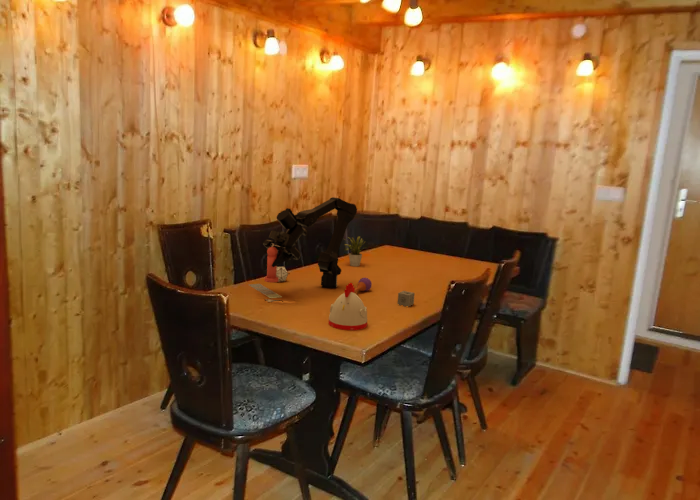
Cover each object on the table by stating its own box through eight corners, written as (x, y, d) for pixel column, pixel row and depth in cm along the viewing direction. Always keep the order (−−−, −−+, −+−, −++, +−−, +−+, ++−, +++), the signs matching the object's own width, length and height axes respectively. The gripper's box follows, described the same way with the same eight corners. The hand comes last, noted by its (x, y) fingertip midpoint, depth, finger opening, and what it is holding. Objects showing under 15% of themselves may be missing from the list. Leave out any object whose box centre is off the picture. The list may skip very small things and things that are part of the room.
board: (243, 286, 247) (243, 283, 247) (261, 284, 251) (261, 282, 251) (268, 301, 225) (268, 299, 224) (288, 299, 229) (288, 297, 229)
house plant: (343, 261, 313) (345, 232, 310) (368, 263, 311) (370, 234, 308) (339, 266, 299) (341, 235, 296) (365, 268, 297) (367, 237, 294)
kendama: (340, 288, 237) (360, 276, 255) (342, 302, 238) (362, 289, 256) (352, 288, 234) (372, 276, 252) (355, 302, 235) (374, 289, 253)
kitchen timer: (322, 326, 199) (324, 284, 196) (337, 316, 211) (339, 277, 209) (359, 332, 194) (362, 290, 191) (372, 322, 207) (375, 282, 204)
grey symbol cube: (408, 307, 229) (409, 295, 228) (397, 304, 232) (398, 293, 231) (413, 304, 233) (414, 292, 233) (402, 302, 236) (403, 290, 235)
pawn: (276, 278, 234) (277, 245, 232) (280, 282, 229) (281, 247, 227) (262, 279, 232) (263, 245, 229) (266, 282, 227) (267, 248, 224)
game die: (281, 291, 256) (285, 277, 249) (265, 283, 257) (268, 269, 250) (290, 279, 262) (294, 265, 255) (274, 271, 263) (277, 257, 256)
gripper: (267, 220, 235) (244, 248, 230) (295, 226, 223) (272, 256, 217) (281, 237, 242) (259, 265, 237) (310, 244, 230) (287, 274, 224)
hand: (269, 265), depth 228 cm, fingers closed on pawn, 4 cm apart
